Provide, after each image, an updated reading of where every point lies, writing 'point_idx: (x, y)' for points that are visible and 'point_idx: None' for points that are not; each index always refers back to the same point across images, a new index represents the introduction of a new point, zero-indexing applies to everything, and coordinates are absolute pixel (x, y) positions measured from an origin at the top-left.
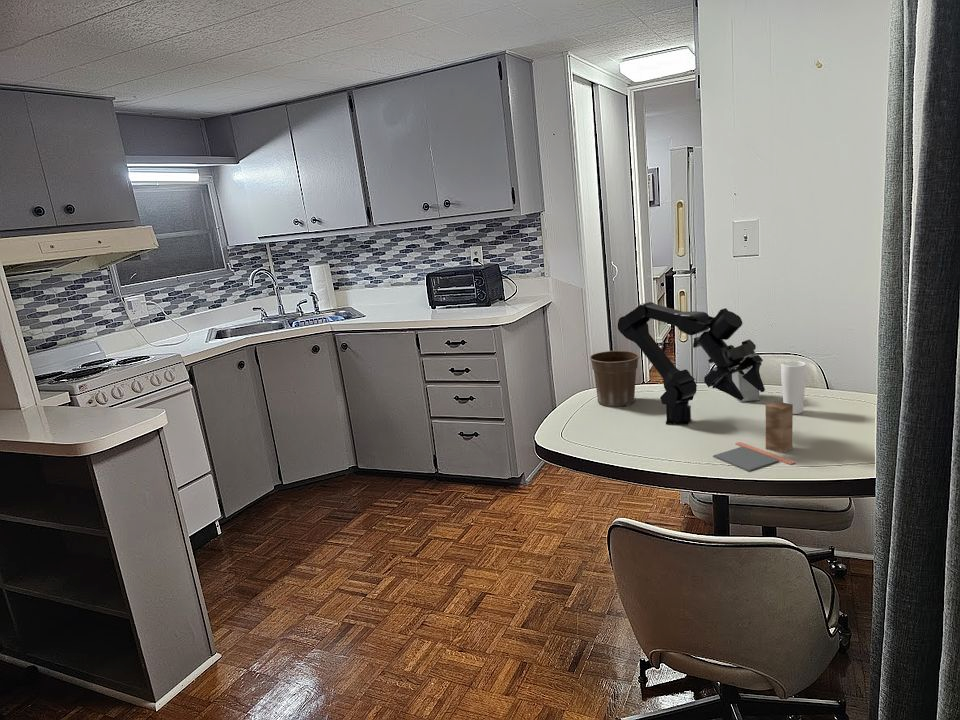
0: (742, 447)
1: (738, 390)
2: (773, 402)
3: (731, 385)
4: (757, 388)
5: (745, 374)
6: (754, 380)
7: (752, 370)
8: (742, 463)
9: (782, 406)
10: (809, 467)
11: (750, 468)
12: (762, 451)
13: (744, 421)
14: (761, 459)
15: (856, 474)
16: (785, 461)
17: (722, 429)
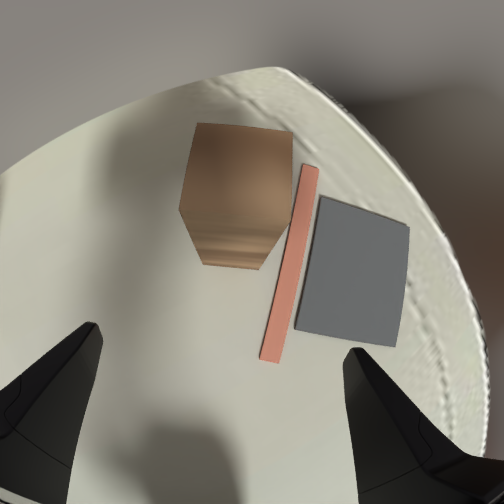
0: (301, 324)
1: (386, 393)
2: (210, 210)
3: (438, 434)
4: (93, 379)
5: (48, 501)
6: (57, 421)
7: (5, 467)
8: (392, 258)
9: (254, 143)
10: (302, 136)
11: (401, 228)
12: (291, 261)
13: (88, 426)
14: (345, 233)
15: (274, 75)
16: (315, 182)
17: (185, 454)
